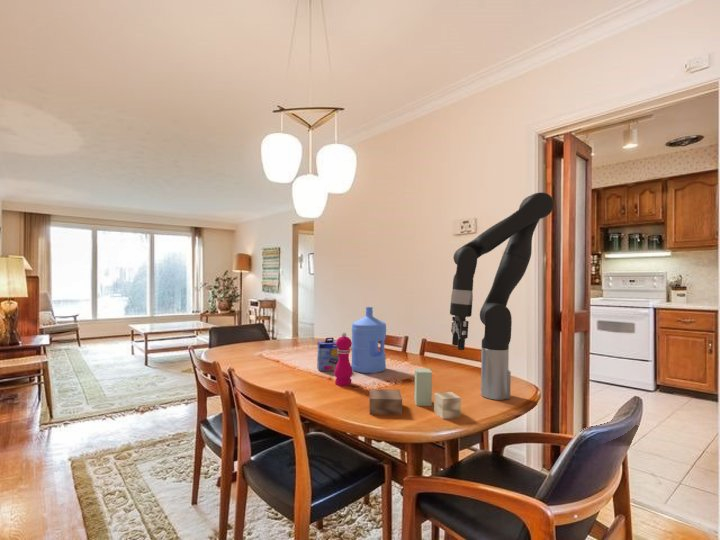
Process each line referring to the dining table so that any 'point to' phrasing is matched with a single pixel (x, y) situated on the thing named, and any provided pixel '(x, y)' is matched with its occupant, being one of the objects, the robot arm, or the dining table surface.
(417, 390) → the sage block
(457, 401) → the maple cube
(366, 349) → the water jug
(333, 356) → the ink cartridge box
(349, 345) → the pepper mill
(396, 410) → the walnut block
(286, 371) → the dining table surface
